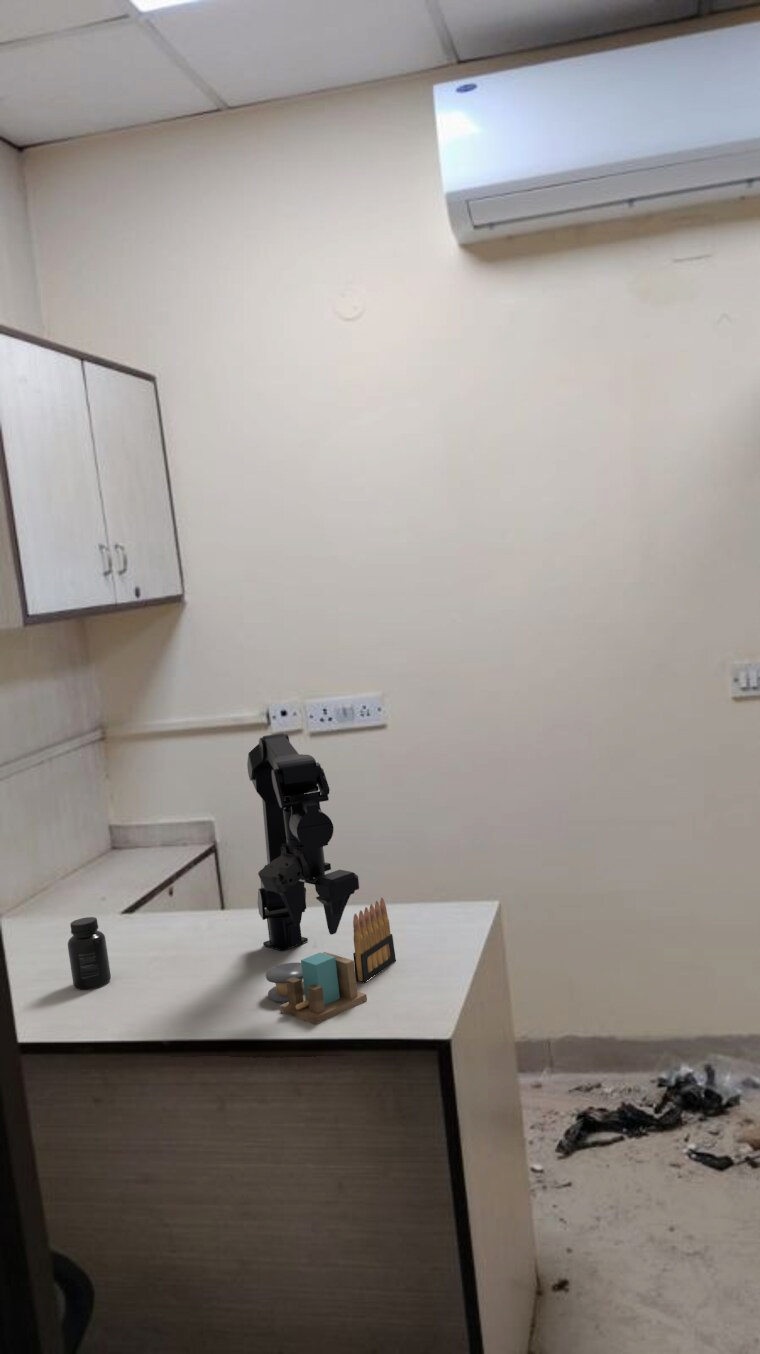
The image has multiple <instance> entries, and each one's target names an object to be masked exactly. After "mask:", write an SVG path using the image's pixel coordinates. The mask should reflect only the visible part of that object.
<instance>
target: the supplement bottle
mask: <svg viewBox="0 0 760 1354" xmlns="http://www.w3.org/2000/svg"><path fill="white" fill-rule="evenodd" d="M69 926H70V934H71V937H70V938H69V939H68V941H67V951H68V958H69V965H70V971H71V978H72V985H73V987H74V988H75V989H77V990H80V991H88V990H93V989H97V988H101V987H103V986H106V985H107V984H109V982H110V981H111V978H112V974H111V968H110V961H109V960H110V959H109V954H108V947H107V939H106V935H105V934H104V933H103V932H102V931H99V928H100V927H99V923H98V919H97V917H96V916H89V917H88V916H87V917H82V918H78V919H75V920H73V921H71V923H70V925H69Z"/></svg>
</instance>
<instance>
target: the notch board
mask: <svg viewBox="0 0 760 1354" xmlns="http://www.w3.org/2000/svg"><path fill="white" fill-rule="evenodd" d="M322 953H323V954H327V955H330V956H333V957H335V961H336V969H337V978H338V986H339V995H340V999H337V1000H335V1001H333V1002H331V1003H329V1004H326V1005H324V998H323V990H322V987H321V986H318V985H315V984H314V985H311V986H309V987H307V991H308V1000H309V1006H307V1007H304V1008H302V1009H300V1010H297V1009H296V1005H297V1004H299V1003H301V1002H304V1001H306V999H305V995H303V993H302V985H301V980H300V979H297V978H294V977H292V978H290V979H288V980H286V983H287V991H288V1000H289V1002H287V1003H281V1004H280V1005H279V1007H280V1012H282V1013H285V1014H287V1015H290V1016H292V1017H295V1018H298V1019H300V1020H303V1021H305V1022H309V1023H310V1024H314V1025H317V1024H319V1023H322V1022H324V1021H326V1020H328V1019H330V1018H332V1017H334V1016H337V1015H339V1014H341V1013H342V1012H345V1011H347V1010H349V1009H351V1008H354V1007H356V1006H357V1004H358V1005H360V1004H362V1003H364V1002H366V1001H367V1000H368V997H367V993H364V992H361V991H358V988H357V987H358V986H357V982H356V977H355V966H354V959H349V958H346V957H343V956H341V955H340V956H339V955H337V954H333V953H329V952H327V951H324V952H322ZM365 1000H366V1001H365ZM363 1001H364V1002H363ZM361 1002H362V1003H361ZM359 1003H360V1004H359ZM355 1005H356V1006H355Z"/></svg>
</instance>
